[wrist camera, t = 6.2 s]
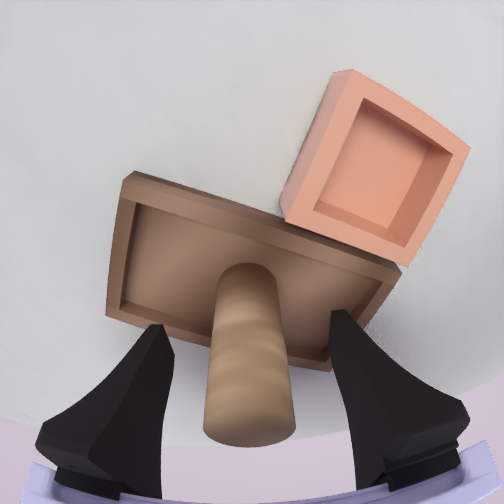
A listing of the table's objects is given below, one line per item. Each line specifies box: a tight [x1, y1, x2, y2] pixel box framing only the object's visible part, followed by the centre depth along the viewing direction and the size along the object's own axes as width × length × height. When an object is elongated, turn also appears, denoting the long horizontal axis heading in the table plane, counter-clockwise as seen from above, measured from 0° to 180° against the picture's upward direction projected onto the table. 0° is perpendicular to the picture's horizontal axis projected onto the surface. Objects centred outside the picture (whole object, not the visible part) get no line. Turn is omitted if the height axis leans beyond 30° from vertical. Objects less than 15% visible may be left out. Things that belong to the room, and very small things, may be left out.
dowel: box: [203, 263, 296, 447], centre depth 12 cm, size 3×3×8 cm
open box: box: [279, 69, 471, 267], centre depth 12 cm, size 6×6×2 cm
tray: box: [105, 171, 402, 372], centre depth 15 cm, size 14×8×2 cm, turn 70°
